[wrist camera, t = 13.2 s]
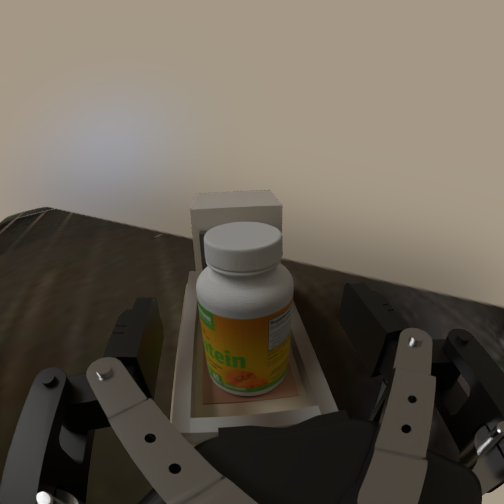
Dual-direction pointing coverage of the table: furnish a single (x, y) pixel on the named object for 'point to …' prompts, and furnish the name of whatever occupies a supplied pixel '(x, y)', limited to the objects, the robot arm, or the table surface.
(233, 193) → the white padded block
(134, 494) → the table surface
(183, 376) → the birch tray
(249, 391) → the supplement bottle
